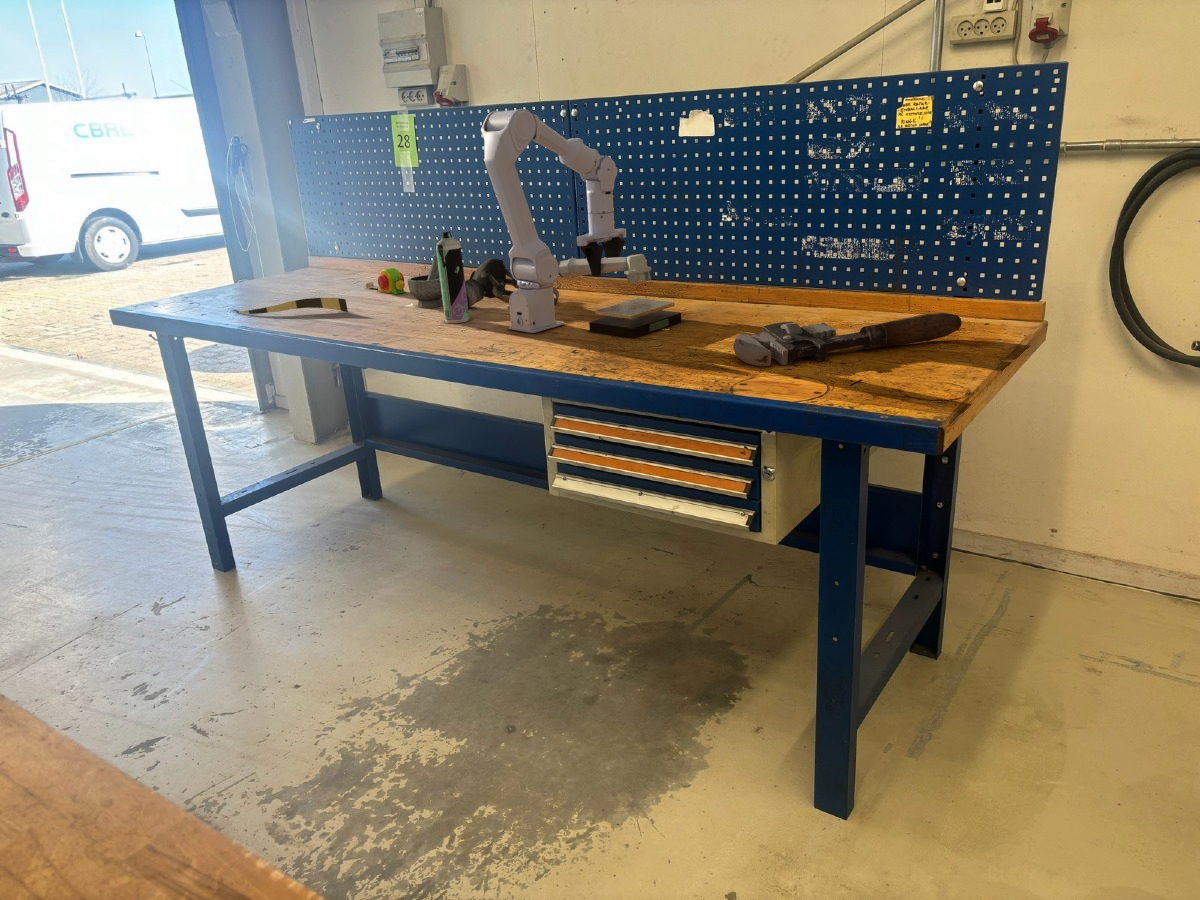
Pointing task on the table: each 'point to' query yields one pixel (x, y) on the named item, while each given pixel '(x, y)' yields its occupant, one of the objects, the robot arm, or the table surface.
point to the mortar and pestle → (427, 287)
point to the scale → (635, 324)
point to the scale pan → (634, 308)
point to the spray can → (452, 279)
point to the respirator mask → (491, 282)
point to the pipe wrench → (838, 338)
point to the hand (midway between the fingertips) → (604, 273)
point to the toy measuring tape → (389, 281)
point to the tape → (303, 305)
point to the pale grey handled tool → (609, 267)
